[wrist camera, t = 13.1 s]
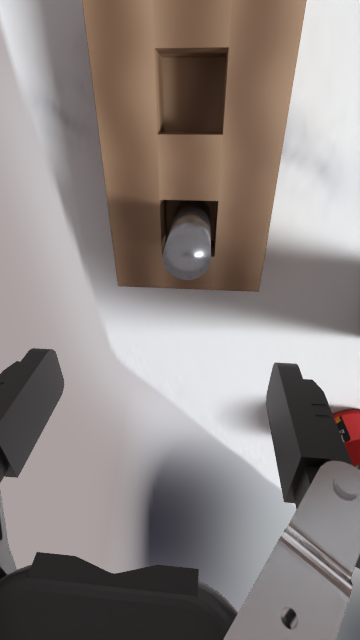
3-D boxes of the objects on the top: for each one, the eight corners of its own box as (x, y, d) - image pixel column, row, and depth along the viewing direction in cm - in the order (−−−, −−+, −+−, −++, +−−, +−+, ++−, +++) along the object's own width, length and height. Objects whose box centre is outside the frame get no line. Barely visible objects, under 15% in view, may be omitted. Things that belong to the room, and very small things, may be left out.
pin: (211, 198, 28) (212, 235, 19) (209, 233, 29) (209, 280, 21) (176, 197, 28) (161, 233, 20) (176, 232, 30) (163, 279, 21)
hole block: (291, -4, 21) (311, -32, 17) (252, 268, 32) (258, 291, 28) (103, 1, 22) (79, -25, 18) (129, 264, 33) (118, 286, 29)
